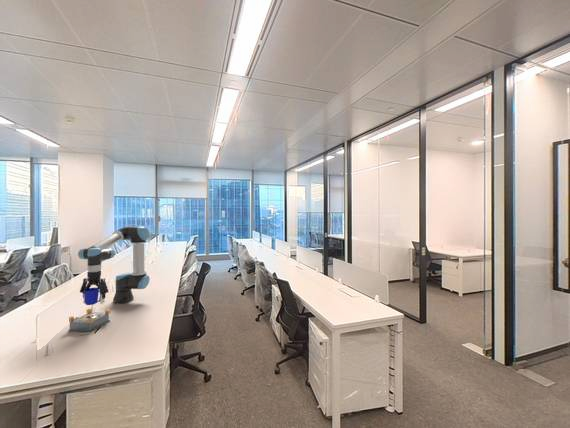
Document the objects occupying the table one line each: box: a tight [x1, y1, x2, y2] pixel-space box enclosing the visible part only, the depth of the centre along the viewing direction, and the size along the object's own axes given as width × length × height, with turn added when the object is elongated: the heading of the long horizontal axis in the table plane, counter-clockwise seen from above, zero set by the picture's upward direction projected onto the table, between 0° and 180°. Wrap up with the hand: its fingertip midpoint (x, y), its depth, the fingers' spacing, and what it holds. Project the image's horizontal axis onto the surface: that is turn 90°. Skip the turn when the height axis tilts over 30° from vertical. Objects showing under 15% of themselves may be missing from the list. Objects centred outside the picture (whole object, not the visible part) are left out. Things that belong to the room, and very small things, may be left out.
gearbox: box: [68, 308, 111, 334], centre depth 174 cm, size 17×18×8 cm
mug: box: [84, 287, 102, 306], centre depth 175 cm, size 8×12×10 cm
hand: (94, 303), depth 175 cm, fingers closed on mug, 11 cm apart
